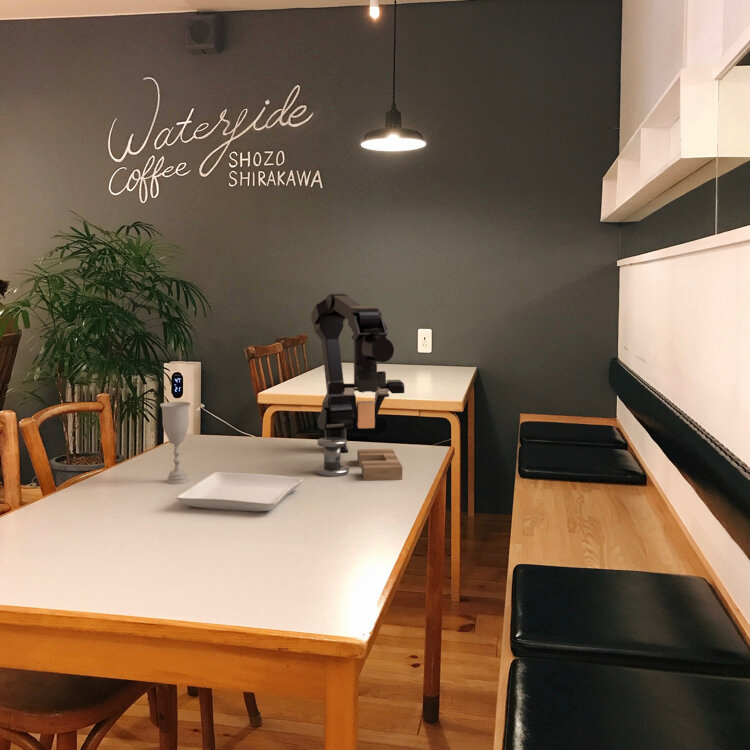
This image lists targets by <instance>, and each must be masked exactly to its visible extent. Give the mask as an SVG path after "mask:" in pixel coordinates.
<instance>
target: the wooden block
mask: <svg viewBox="0 0 750 750" xmlns="http://www.w3.org/2000/svg"><path fill="white" fill-rule="evenodd" d="M374 402H375V401H374V400H356V405H357V412H358V422H356V426H357V428H358V429H375V426H376V421H375V404H374Z"/></svg>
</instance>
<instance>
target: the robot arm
mask: <svg viewBox="0 0 750 750" xmlns="http://www.w3.org/2000/svg"><path fill="white" fill-rule="evenodd" d="M310 318H311V319H310V320H311V323H312V325H313V330H314V333H315V334H316V335H317V336H318V338H319V339H320V340H321V347H322V348H321V349H322V360H323V367H324V368H323V369H324V374H325V375H324V378H325V387H326V394H325V396H324V398H323V400H322V404H321V406H322V409H321V411H320V413H319V415H318V418H317V420H316V421H317V428H318V429H321V430H322V431H324V438H326V437H339V438H345V439H346V440H347V429H353V428H354V424H355V422H356V423H357V422H358V412H357V396H356V394H355V392H359V393H367V392H370V393H374V401H373V402H374V404H375V422H376V421H377V417H378V414H379V412H380V409H381V405H383V402H384V400H385V398H389V397H390V393H391V394H404V393H405V383H404V382H403V381H402V380H401V379H387V373H386V371H384V370H382V371H381V370H380V371H378V362H380V363H386V362H388V361H390V360H391V359H392V357H393V355H394V352H395V347H394V345H393V342H392V341H391V340H390V339H388V338H387V336H388V328H387V325H386V323H385V320H384V318H383V315H382V313H381V312H380V309H379V308H377V307H375V306H367V305H365V306H364V305H361V304H359V303H358V302H357V301H355V300H353V299H352V298H350V297H349V296H348V294H345V293H330V294H328V295H326V297H325V298H324V299H323V300H321V301H319V302H318V303H317V304H316V305H315V306H314V308H313V310H312V312H311V315H310ZM345 320H347V321H348V322H347V325H348V327H349V328H350V329H351V331H352V333H353V334H352V335H351V339H352V340H353V383H345V382H344V373H343V365H342V356H341V347H340V345H341V344H340V338H339V337H340V335H341V333H342V331H343V328H344V322H345ZM389 392H390V393H389ZM322 448H323V451H324V447H322ZM340 453H349V448H348V445H345V446H341V447H340Z"/></svg>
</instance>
